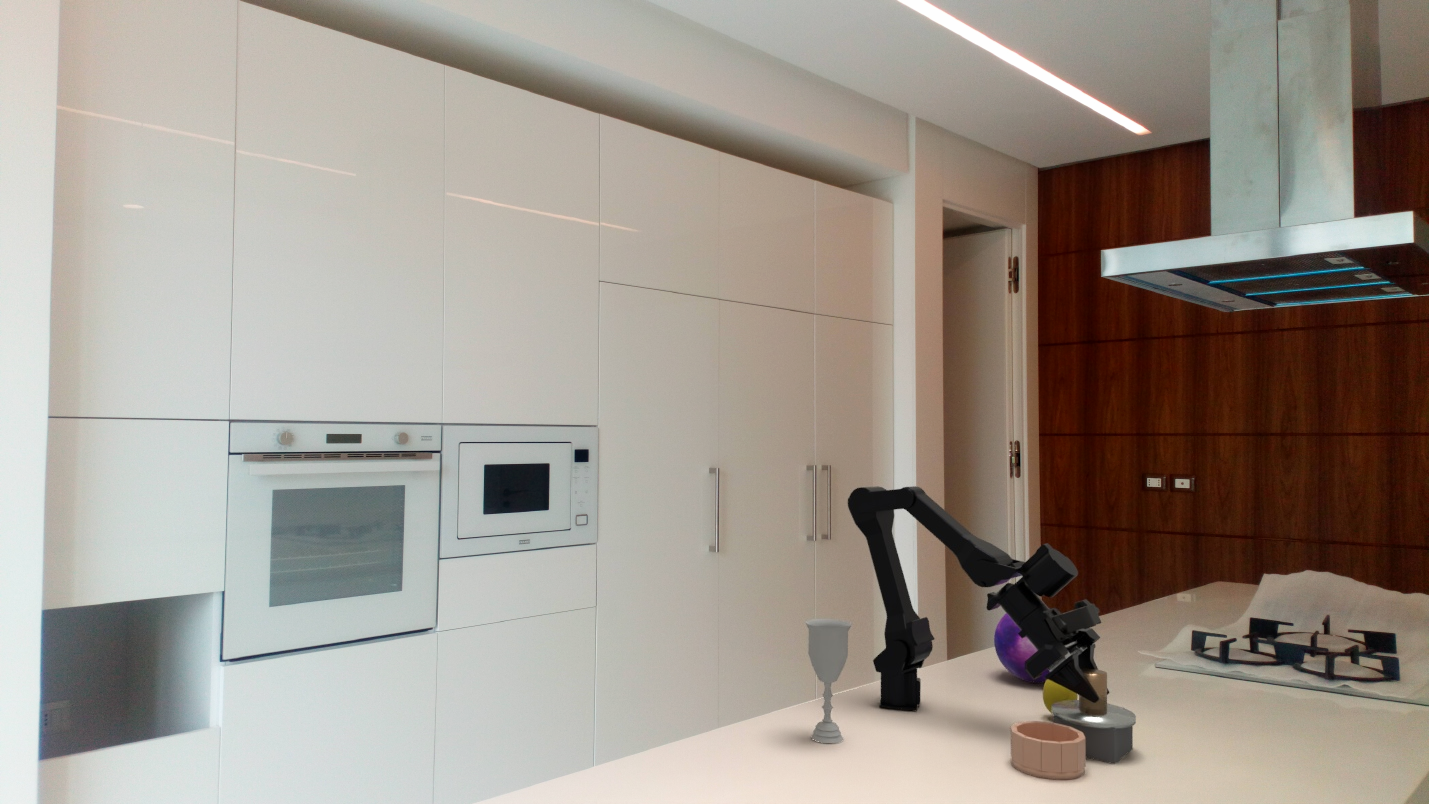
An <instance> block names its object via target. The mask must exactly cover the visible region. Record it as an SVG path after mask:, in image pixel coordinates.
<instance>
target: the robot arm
mask: <svg viewBox="0 0 1429 804" xmlns="http://www.w3.org/2000/svg"><path fill="white" fill-rule="evenodd" d="M846 503H847V509H848V511H849V514H850V515H851V517H852V520H853V522H854V524H855V526H856V527H857V528H858V530H859V531H860V532H861V533H862V535H863V536H864V537H865V540H866V543H867V547H868V550H869V553H870V554H869V555H870V557H871V560H872V566H873V569H874V572H875V575H876V580H877V583H878V588H879V591H880V595H881V598H882V602H883V606H884V607H883V608H884V609H885V614H886V621H885V626H884V642H885V643H884V645H885V648H884V649H883V650H882V651H881V652H880V653H878V655H877V656H875V657H874V658H873V660H872V662H873V666H874V669H875V672H877V673H880V700H879V703H878V706H879V708H882V709H892V710H893V709H894V710H902V711H903V710H904V711H914V712H915V711H916V712H917V710H918V706H920V705H921V692H922V691H921V687H922V686H921V683H922V682H921V680H922V679H921V678H920V677H918V669H921V668H922V667H923V665H924V662H925V660H926V659H927V658H928V657H930V655H931V653H932V651H933V645H934V644H933V641H934V640H935V639H936V638H935V637H934V635H933V633H932V630H931V629H930V620H929V618H928V617H927V616H925V617H922V618H921V617H920V616H919V615H918V614H917V612H916V611H915V610H914V607H913V604H912V600H911V597H910V593H909V589H908V586H907V582H906V579H905V576H904V571H903V567H902V564H901V561H900V556H899V553H898V549H897V546H896V543H895V538H894V536H893V535H894V534H893V526H894V520H895V511H896V510H902V509H904V510H905V511H907V513H909V514H910V515H911V516H912V517H913V518H914V519H915V520H916V521H918V523H919V524H921V525H922V526H923V527H924V528H925V529H926V530H927V531H929V532H930V534H932V535H933V536H934V537H935V538H936V539H937V540H938V541H940V542H941V543H942V544H943V545H944V546H946V547H947V548H948V550H949V551H951V552H952V553H953V555H954V556H955V557H956V559H957V561H958V563H959V566H960V568H961V569H962V570H963V571H964V573H965V574H966V575H967V576H968V577H969V579H970V581H972V582H973V584H975V585H976V586H978V587H980V588H992V587H996V586H999V585H1004V586H1003V587H1001V588H1000V589H999V590H997V592H996V591H993V592H989V593H987V595H986V596H987V601H986V610H987V611H992V610H996V609H998V608H999V607H1001V609H1002V610H1003V611H1004V612H1005V614H1006V613H1007V614H1008V616H1009V617H1010V618H1011V619H1012V620H1013V621H1014V623H1015V624H1016V625H1017V626H1018V627H1019V629H1020V630H1021V631H1020V632H1019V633H1018V634H1019V636H1020V637H1021V638H1025V637H1027V638H1028V639H1029V640H1030V642H1031V643H1032V644H1033V645H1034V646H1035V648H1036V649H1037V650H1038V651H1037V652H1035V653H1034V654H1033V655H1032V656H1031V657H1030V658H1028V659H1027V660H1026V661H1025V671H1026V672H1027V673H1028V674H1029V676H1030V677H1031V678H1032V679H1033V680H1034V679H1036V678H1038V677H1040V676H1041V675H1042V672H1044V671H1045V670H1046V669H1048V670H1049V671H1050V673H1049V674H1047V675H1046V676H1045V677H1044V678H1045V679H1046V680H1047V679H1048V680H1051V681H1053V682H1055V683H1057V684H1059V685H1061V686H1063V687H1065V688H1067V689H1069V690H1071V691H1073V692H1075V693H1076V694H1077V696H1079V695H1080V696H1082V697H1084V698H1086V699H1088V700H1089V701H1091V702H1093V703H1096V702H1097V701H1098V700H1099V699H1100V698H1099V696H1098V695H1097V693H1096V691H1095V690H1094V688H1093V687H1092V685H1091V684H1090V682H1089V681H1088V679H1087V678H1086V677H1085V675H1084V674H1083V672H1082V671H1081V669H1097V670H1099V668H1098V666H1097V664H1096V662H1095V658H1094V655H1095V648H1096V642H1097V641H1099V640H1100V638H1101V636H1100V635H1099V634H1098V633H1097V632H1096V631H1095V630H1094V629H1093V627H1096V626H1097V625H1100V624H1102V623H1103V622H1102V620H1101V618H1100V616H1099V613H1100V612H1101V611H1100V609H1099V608H1098V607H1097V606H1096V604H1095V603H1091V602H1090V601H1089V600H1088V599H1087V598H1085V599H1083V600H1079V601H1077V602H1074V605H1073V609H1072V610H1068V611H1066V612H1063V613H1062V612H1060V610H1059V609H1058V608H1056V607H1051V608H1049V607H1048V606H1047V604H1046V603H1045V602H1044V601H1043V600H1042V598H1043V597H1044V596H1045V597H1047V598H1053V597H1054V596H1056V595H1057V594H1058V593H1059V592H1060V591H1061V590H1062V589H1064V587H1066V586H1067V585H1068V584H1070V582H1071V581H1072V580H1074V579H1075V578H1076V577H1077V576H1078V575H1079V570H1078V569H1077V567H1076V565H1075V564H1074V563H1073V561H1072V560H1071V559H1069V557H1068V556H1065V555H1064V554H1062V552H1060V551H1058V550H1057V549H1055V548H1053V547H1052V546H1051V545H1050V544H1049V543H1044V544H1042V545H1040V547H1038V548H1037V549H1036V551H1035V553H1034V554H1033V555H1032V556H1030V557H1029V558H1028V559H1027V560H1026V561H1023V560H1019V559H1015V558H1014V559H1013V558H1012V557H1011V556H1010V555H1009V553H1007V552H1006V551H1004V550H1002V549H1000V548H999V547H998V546H996V545H994V544H993V543H991V542H989V541H986V540H984V539H981V538H979V536H976V535H974V534H973V533H971V532H970V531H969V530H968V529H967V528H966V527H965V526H963V524H961V523H960V522H959V521H958V520H957V519H955V518H954V517H953V516H952V515H951V514H949V513H948V511H946V510H945V509H944V508H943V507H942V506H940V505H939V504H938V503H937V501H935V500H933V499H932V497H930V496H929V495H928V494H927V493H926V491H925V490H924V489H923V488H922V487H920V486H915V485H913V486H902V488H896V489H887V488H884V487H882V486H864V487H863V486H862V487H861V486H860V487H856V488H855V489H853V490H852V491H851V492H850V495H849V497H848V498H847V502H846ZM1018 577H1020V578H1019V579H1018V580H1017V581H1016V582H1015V583H1012V582H1009V581H1010V580H1011V579H1015V578H1018ZM1040 597H1041V598H1040ZM1109 694H1110V689H1108V687H1107V696H1108V695H1109Z"/></svg>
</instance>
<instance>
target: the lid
mask: <svg viewBox="0 0 1429 804" xmlns="http://www.w3.org/2000/svg"><path fill="white" fill-rule="evenodd" d="M1081 671H1082V672H1083V674H1084V675H1085V677H1086V678H1087V679H1088V681H1089V682H1090V684H1091V685H1092V687H1093V688H1094V690H1095V691H1096V693H1097V695H1098V696H1099V698H1100V699H1099V700H1098V701H1097V702H1096V703H1093V702H1091V701H1089V700H1088V699H1086V698H1084V697H1082V696H1080V695H1078V699H1077V700H1065V701H1059V702H1056V703H1054V704H1053V705H1052V713H1051V714H1052V715H1053V716H1055V717H1057V718H1059V719H1061V720H1063V721H1066V722H1069V723H1072V724H1076V725H1081V726H1086V727H1093V728H1102V729H1121V728H1128V727H1131V726H1133V727H1134V726H1135V725H1136V723H1137V716H1136V714H1135V713H1134V712H1133V711H1132V710H1129V709H1127V708H1124V707H1123V706H1119V705H1115V704H1111V703H1109V702H1108V695H1107V688H1108V672H1106V671H1105V670H1101V669H1098V670H1097V669H1081Z"/></svg>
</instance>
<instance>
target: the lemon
mask: <svg viewBox="0 0 1429 804" xmlns="http://www.w3.org/2000/svg"><path fill="white" fill-rule="evenodd" d="M1042 690H1043V691H1042V700H1043V704H1044V706H1045V708H1046V709H1047V711H1049V713H1051V714H1052V705H1053V704H1054V703H1056V702H1059V701H1065V700H1078V694H1076V693H1075V692H1073V691H1071V690H1069V689H1067V688H1065V687H1063V686H1061V685H1059V684H1057V683H1055V682H1053V681H1051V680H1048V679H1047V680H1046V682H1044V685H1043V689H1042Z"/></svg>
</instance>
